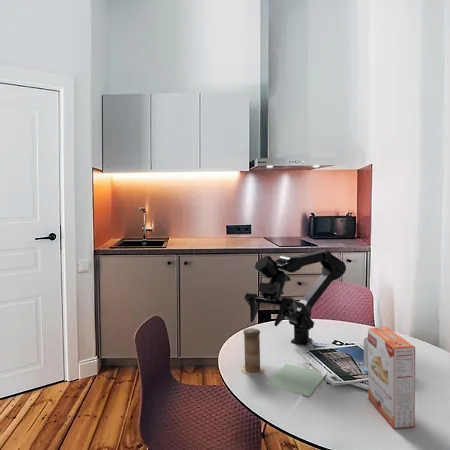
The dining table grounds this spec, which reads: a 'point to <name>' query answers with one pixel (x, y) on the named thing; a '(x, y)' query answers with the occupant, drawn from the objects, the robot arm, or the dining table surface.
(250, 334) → the canister
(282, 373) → the mat
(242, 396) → the dining table surface
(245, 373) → the coaster
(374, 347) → the cracker box
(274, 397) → the dining table surface
